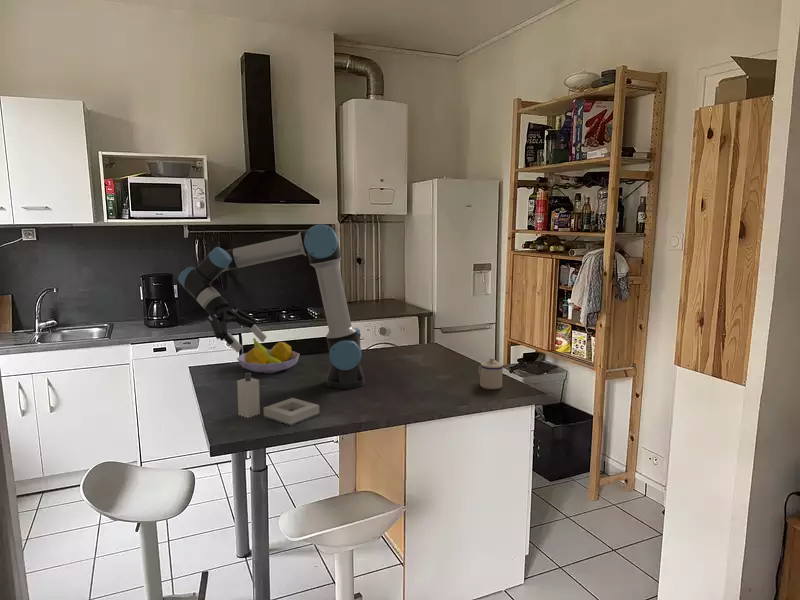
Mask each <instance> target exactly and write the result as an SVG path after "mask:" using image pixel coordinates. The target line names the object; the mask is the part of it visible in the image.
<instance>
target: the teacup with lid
mask: <svg viewBox="0 0 800 600" xmlns="http://www.w3.org/2000/svg"><path fill="white" fill-rule="evenodd" d="M503 369H504V365H503V363H501V362H499V361H498V360H496V359H495V358H494V357H489V358H488V360H485V361H482V362H481V363H480V365H479V366H478V369H477V371H478V374H479V376H480V378H479V379H480V387H482V388H483V389H487V390H498V389H501V388H502V387H503Z"/></svg>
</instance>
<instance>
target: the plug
mask: <svg viewBox="0 0 800 600" xmlns="http://www.w3.org/2000/svg"><path fill="white" fill-rule="evenodd" d="M251 375H252V373H251V372H245V373H244V378H243V379H242V378H241V379H239V380H237V381H236V384H237V386H236V387H237V388H236V389H237V411H238V412H237V413H238V416H240V415H241V417H243V416H244V417H243V418H246V417H247V418H246V419H250V418H252V416H253V417H256V416H259V415H260V414H261V410H260V409H261V405H260V379H256V378H253V377H252V376H251ZM258 414H259V415H258ZM255 415H256V416H255ZM249 417H250V418H249Z"/></svg>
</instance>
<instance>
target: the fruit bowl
mask: <svg viewBox="0 0 800 600" xmlns="http://www.w3.org/2000/svg"><path fill="white" fill-rule="evenodd" d="M252 340H253V348H252V349H250V350H249V351H248V352H245V353H241V354H240V355H239V356H238V357H237V358H236V359H237V362H239V364H240V366H241V368H243V369H246V370H249V371H251V372H253V373H262V372H263V373H264V374H275V373H277V372H281V371H283V370H288V369H289V368H291V367H293V366H295V365H296V364H297V363H298V360H299V357H300V353H298V352H296V351H293V350H292V346H291V345H290V344H288V343H286V341H285V342H284V341H280V342H277V343H275V345H273V347H272V348H270V349H268V348H267V347H265V346H264V345H263V344H261V343H260V342H258V341H257V339H256V337H254V338H252ZM263 373H262V374H263Z"/></svg>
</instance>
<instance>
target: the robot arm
mask: <svg viewBox="0 0 800 600" xmlns="http://www.w3.org/2000/svg"><path fill="white" fill-rule="evenodd" d="M299 255H303V256H305V257H308V260H309V265H310V266H312V267H313V268H314V269H315V272H316V276H317V277H316V278H317V281H318V286H319V291H320V295H321V300H322V301H321V302H322V306H323V309H324V313H325V318H326V324H327V326H328V327H327V328H328V332H327V334H326V335H325V337H326V342H327V348H328V351H329V352H328V358H329V361H330V369H329V372H328V373H327V377H326V385H327V387H330V388H333V389H336V390H338V389H340V390H350V389H352V390H353V389H357V388H360V387H362V386H364V385H365V375H364V371H363V370H362V366H361V361H362V359H361V358H362V354H363V353H362V348H361V330H360V329H359V328H358V327H354V326H352V321H351V315H350V313H349V307H348V302H347V298H346V293H345V288H344V283H343V278H342V273H341V269H340V264H339V263H340V261H341V260H342V253H341V249H340V244H339V236H338V233H337V231H336V230H335V228H333V227H332V226H331V225H329V224H324V223H320V224H319V223H318V224H316V225H313V226H311V227H309V228H308V229H306V230H301V231H299V232H298V233H297V234H294V235H290V236H285V237H282V238H276V239H272V240H267V241H263V242H259V243H253V244H249V245H244V246H240V247H236V248H232V249H231V248H230V249H226V250H225V249H224V248H222V247H220V246H215V247H214V248H213V249H212V250H211V251H209V252H208V254H207V255H206V257H205V258H203V260H201V262H200V263H199V264H198V265H197V267H194V266H189V267H186V268H185V269H184V270H182V271H181V272H180V274H179V275H178V277H177V278H178V279H177V280H178V282H179V283H180V285H181V286H182V287H183V289H184V290H185V291H186V292H187V293H189V295H190V296H192V298H194V300H196V302H197V303H198V304H199V305H200V306H201V307H202V308H203V309H204V310H205V311H206V313H208V315H209V316H208V317H207V320H208V321H209V323H210V326H211V328H212V330H213V334H214V336H215V338H216V339H217V340H220V341H225V342H226V343H227V344H228V345H229V346H231V347H232V348H233V349H234V351H235V352H236V353H239V352H240V351H241V350H242V348H243V345H242V344H241V343H240V342H239V341H238V340H237V339H236V338H235V337H234V336H233V335H232V334H231V333H230V332H229V333H228V325H227V324H228V323H238V324H240V325H242V326H245V327H247V328H250V332H251V333H253V335H254V336H255V338H257V339H258V340H259V341H260V342H261V343H264V341H265V340H266V339H267V338H268V336H267V335H266V334H265V333H264V332H263V331H262V330H261V328H260V327H259V326H258V325H257V324H258V319H257V318H255V317H253V316H251V315H249V314H248V313H246V312H244V311H243V310H241V309H240V308H239V307H238V306H235V305H234V307H233V308H230V306H229V302H228V301H227V300H226V299H225V297H223V296H222V295H221V294H220V293H219V292H218V290H217V289H216V288H214V287H213V285H212V283H213V282H214V280H216V279H217V278H218V277H219V276H220V275H221V274H222V273H224V272H226V271H227V272H228V271H231V270H235V269H240V268H245V267H249V266H253V265H257V264H262V263H266V262H272V261H277V260H280V259H281V260H282V259H285V258H290V257H295V256H299Z"/></svg>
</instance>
